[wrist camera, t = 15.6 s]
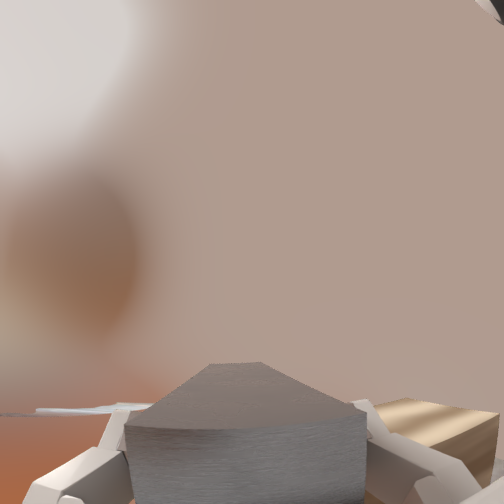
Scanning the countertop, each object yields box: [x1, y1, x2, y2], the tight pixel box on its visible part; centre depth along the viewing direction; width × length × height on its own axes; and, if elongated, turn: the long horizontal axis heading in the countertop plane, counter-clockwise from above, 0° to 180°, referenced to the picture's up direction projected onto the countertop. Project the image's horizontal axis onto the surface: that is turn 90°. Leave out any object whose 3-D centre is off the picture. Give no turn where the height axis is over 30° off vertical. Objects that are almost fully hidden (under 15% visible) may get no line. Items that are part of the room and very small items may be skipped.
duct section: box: [124, 362, 367, 504], centre depth 13 cm, size 20×4×3 cm, turn 3°
